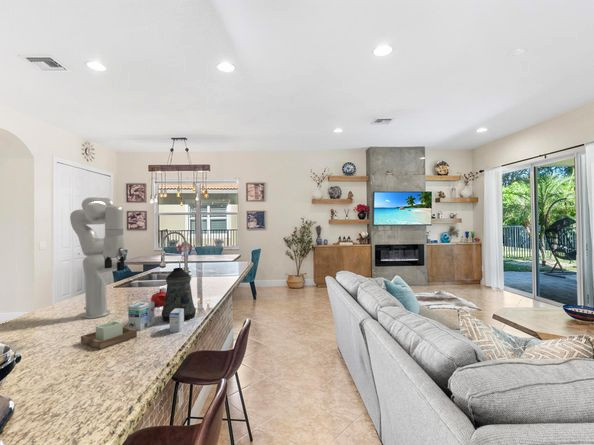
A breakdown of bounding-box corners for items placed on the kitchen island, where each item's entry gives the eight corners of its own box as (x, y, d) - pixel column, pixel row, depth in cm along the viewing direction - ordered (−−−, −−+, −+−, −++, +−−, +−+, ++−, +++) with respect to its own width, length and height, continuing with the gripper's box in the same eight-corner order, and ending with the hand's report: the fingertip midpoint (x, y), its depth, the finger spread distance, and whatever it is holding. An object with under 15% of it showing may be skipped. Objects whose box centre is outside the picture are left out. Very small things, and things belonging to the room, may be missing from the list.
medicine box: (174, 326, 157) (174, 308, 156) (184, 326, 157) (184, 308, 157) (169, 332, 149) (169, 313, 149) (179, 332, 149) (179, 312, 149)
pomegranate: (147, 306, 193) (146, 290, 192) (159, 302, 202) (159, 286, 202) (160, 307, 189) (160, 291, 189) (173, 303, 199) (172, 287, 198)
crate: (80, 343, 136) (80, 336, 136) (117, 331, 150) (117, 325, 150) (100, 349, 130) (100, 342, 129) (136, 337, 143) (136, 330, 143)
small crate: (95, 340, 138) (95, 326, 137) (114, 334, 144) (114, 320, 144) (103, 343, 135) (103, 328, 135) (122, 336, 142) (122, 322, 142)
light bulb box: (140, 330, 151) (140, 307, 151) (127, 329, 153) (127, 306, 153) (155, 323, 162) (155, 301, 162) (142, 322, 163) (142, 300, 163)
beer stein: (177, 324, 160) (176, 272, 159) (150, 318, 169) (149, 269, 169) (202, 315, 174) (202, 267, 174) (176, 310, 183) (176, 265, 183)
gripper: (95, 232, 157) (95, 268, 158) (117, 234, 148) (117, 272, 149) (111, 231, 164) (111, 266, 164) (133, 233, 155) (133, 270, 156)
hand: (114, 269), depth 157 cm, fingers open, 9 cm apart
